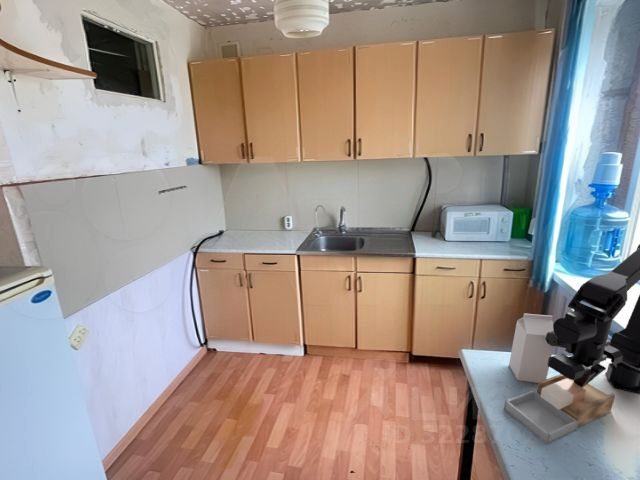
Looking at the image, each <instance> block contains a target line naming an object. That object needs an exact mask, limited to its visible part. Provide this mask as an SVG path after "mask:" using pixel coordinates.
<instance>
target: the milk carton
mask: <svg viewBox="0 0 640 480" xmlns="http://www.w3.org/2000/svg"><path fill="white" fill-rule="evenodd" d="M553 317H554V316H553V315H548V314H547V315H545V314H532V313H523V317H521V318H519V319H517V320H516V324H515V329H514V330H515V332H514V334H513V335H514V336H513V342H512V346H511V352H510V357H509V363H508V365H509V367H510V368H511V371H512V373H513V374H514V376H515V378H516V380H517V381H520V382H521V381H522V382H527V383H528V382H529V383H536V384H538V383H539V382H540V381H543V380H546V379H548V378H547V377H548V373H549V369H550V367H549V366H548V365H547V363H548V359H549V357H552V356H553V352H554V351H553V350H554V348H555V346H551V345H549V344H548V343H547V342H546V340H545V338H546V336H547V335H546V334H547V333H548V332H551V331H554V330H553V324H554V322H553Z"/></svg>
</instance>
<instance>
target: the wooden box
mask: <svg viewBox="0 0 640 480" xmlns="http://www.w3.org/2000/svg"><path fill="white" fill-rule="evenodd" d="M564 379H569V378H567V377H565V376H564V375H562V374H560V373H559V374H557V375H555V376H551V377H549V378H546V380H543V381H540V382H539V383H537V389H536V392H537V393H538V394H540V395H541V391H542V388H544V387H546V386H549V385H551V384H553V383H556V382H559V381H561V380H564ZM569 380H571V379H569ZM571 381H572V382H574V380H571ZM583 388H584V389H585V390H586V393H585V397H584V399H582V400H579V401H577V402H574V403H572V404H570V405H568V406H566V407H564V408H561V410H563V411H564V412H565V413H567V414H568V415H570V416H571V417H573V418H574V419H575V420H577V421H578V422H579V423H578V426H577V428H579V427H581V426H584V425H585V424H589V423H591V422H592V421H594V420H597V419H598V418H601V417H603V416H605V415H608V414H610V413H612V407H613V404H614V401H615V398H616V394H615V393H609V394H607V393H605V392H603V391H602V390H600V389H598V388H596V387H595V386H593V385H591V384H590V383H588V384H587V385H586V386H584V387H583Z"/></svg>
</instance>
